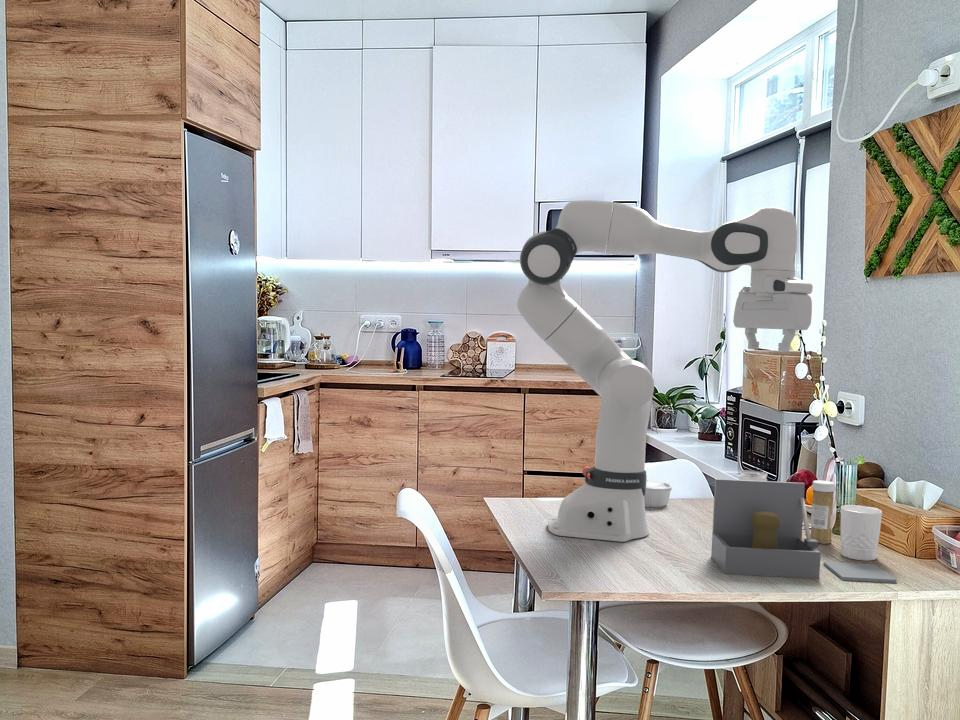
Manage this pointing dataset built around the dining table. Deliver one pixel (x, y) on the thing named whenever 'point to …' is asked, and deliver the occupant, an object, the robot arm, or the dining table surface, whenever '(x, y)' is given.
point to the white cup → (860, 531)
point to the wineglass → (752, 475)
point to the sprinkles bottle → (822, 511)
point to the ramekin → (656, 494)
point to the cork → (765, 530)
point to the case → (736, 529)
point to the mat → (859, 572)
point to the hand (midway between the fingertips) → (768, 350)
